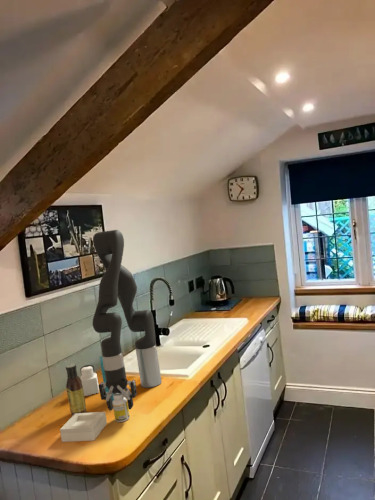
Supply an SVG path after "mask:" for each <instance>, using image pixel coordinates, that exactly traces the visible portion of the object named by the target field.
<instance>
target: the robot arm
mask: <svg viewBox="0 0 375 500" xmlns="http://www.w3.org/2000/svg"><path fill="white" fill-rule="evenodd" d="M92 237H93V238H92V244H93V248H94V251H95V253H96V254H97V257H98V258H99V260H100V262H101V263H102V265H103V267H104V269H105V271H104V274H103V275H102V277H101V280H100V281H99V286H98V301H97V304H96V309H95V312H94V314H93V317H92V327H93V330H94V331H95V332H96V333H98V334H99V333H100V334H101V333H102V334H103V333H110V336H109V337H106V338H103V339H102V340H101V342H100V346H101V347H100V348H101V353H102V357H103V367H104V372H105V378H106V383H104V382H103V381H102V382H100V383H98V385H99V395H100V399H101V401H106V405H107V409H108V410H109V411H110V412H111V411H113V410H114V409H113V403H112V399H111V396H112V394H116V393H122V394H123V395H124V397H125V398H126V399H127V404H128V409H129V410H132V409H133V407H134V400H133V399H134V398H136V396H137V394H138V392H137V384H136V380H135V379H132V380H128V379H127V374H126V373H127V372H126V365H125V362H124V361H125V360H124V356H123V353H122V345H121V333H122V326H123V325H122V324H123V320H122V317H121V315H120V314H119V313H118V312H114V311H113V312H108V310H110V309H112V308H114V307H116V306H117V304H118V302H119V303H120V306H121V308H122V310H123V315H124V318H125V322H126V324H127V326H128V328H129V331H131V332H133V333H142V332H144V336H143V337H140V338H138V339H136V340H135V341H134V348H135V354H136V360H137V367H138V373H139V379H140V386H141V387H142V388H145V389H146V388H154V387H156V386H159V385H160V384H162V376H161V369H160V361H159V355H158V349H157V343H156V341H157V339H156V331H155V330H156V329H155V320H154V316H153V312H152V311H151V310H148V309H143V310H135V309H134V306H133V305H134V304H133V303H134V301H135V298H136V296H137V295H136V294H137V292H138V291H137V290H138V287H137V286H138V285H137V283H136V281H135V278H134V276H133V274H132V272H131V271H130V270H129V269H128V268H126V267H125V266H124V265H122V262H123V256H124V255H123V254H124V248H125V239H124V235H123V232H121V231H120V230H118V229H113V230H105V231H99V232H96V233H94V234H93V236H92ZM127 386H128V387H129V388H130V389H129V388H128V387H127ZM105 387H107V388H108V389H109V392H108V394H107V395H106V391H105Z"/></svg>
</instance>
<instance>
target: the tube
mask: <svg viewBox="0 0 375 500" xmlns="http://www.w3.org/2000/svg"><path fill="white" fill-rule="evenodd" d="M99 364H100V370H101V375H102V382H104V383H106V378H105V372H104V367H103V355H102V356H99ZM105 391H106V395H107V394H108V392H109V389H108V388H107V387H105ZM111 399H112V402H113V400H114V398H113V394H112V396H111Z"/></svg>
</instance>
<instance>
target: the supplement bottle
mask: <svg viewBox="0 0 375 500" xmlns="http://www.w3.org/2000/svg"><path fill="white" fill-rule="evenodd" d="M113 398H114V400H113V402H112V403H113V409H112V410H113V413H114V420H115V421H116V422H117V423H122V422H126V421H128V420H129V419H130V409H129V408H128V401H127V400H128V399H127V398H126V396H124V395H123V394H122V393H116V394H113Z"/></svg>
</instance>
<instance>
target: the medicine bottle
mask: <svg viewBox="0 0 375 500" xmlns="http://www.w3.org/2000/svg"><path fill="white" fill-rule="evenodd" d="M79 370H80V371H79V372H80V379H81V381H82V386H83V392H84V397H88V396H92V394H93V395H96V393H97V394H100V391H99V380H98V375H97V373H96V372H95V366H94V365H93V364H86V365H83V366H81V367H80V369H79Z"/></svg>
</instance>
